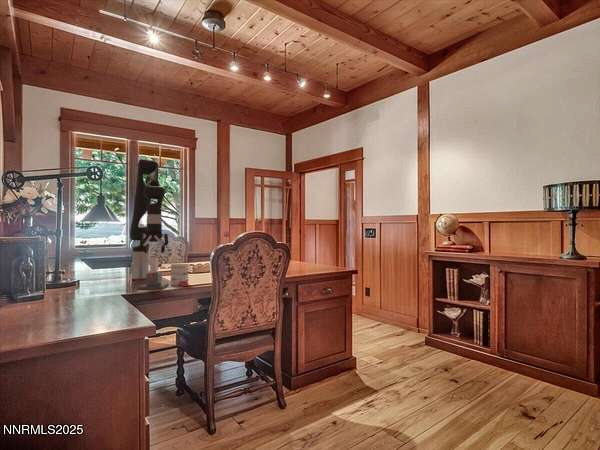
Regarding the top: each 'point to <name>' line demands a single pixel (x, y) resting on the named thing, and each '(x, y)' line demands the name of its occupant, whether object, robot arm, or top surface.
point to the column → (154, 264)
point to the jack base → (153, 282)
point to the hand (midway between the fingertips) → (154, 253)
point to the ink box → (179, 274)
